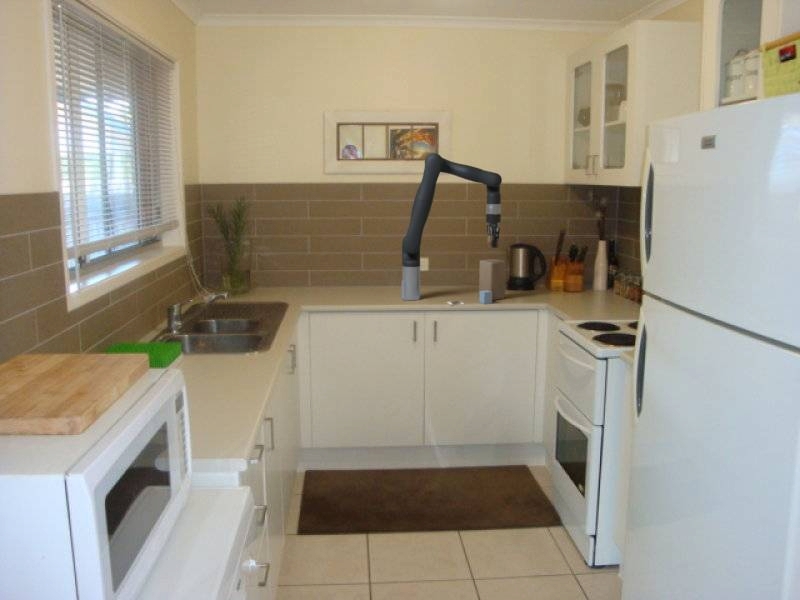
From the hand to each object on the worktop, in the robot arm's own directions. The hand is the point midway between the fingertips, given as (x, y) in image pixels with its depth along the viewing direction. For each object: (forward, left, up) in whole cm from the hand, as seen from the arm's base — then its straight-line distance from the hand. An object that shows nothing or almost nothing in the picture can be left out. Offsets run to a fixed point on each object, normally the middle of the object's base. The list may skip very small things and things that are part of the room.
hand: (492, 246), depth 361 cm
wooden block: (0, 0, -27) cm, 27 cm away
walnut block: (0, 0, -1) cm, 1 cm away
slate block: (-7, -11, -27) cm, 30 cm away
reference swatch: (-22, -9, -27) cm, 36 cm away
